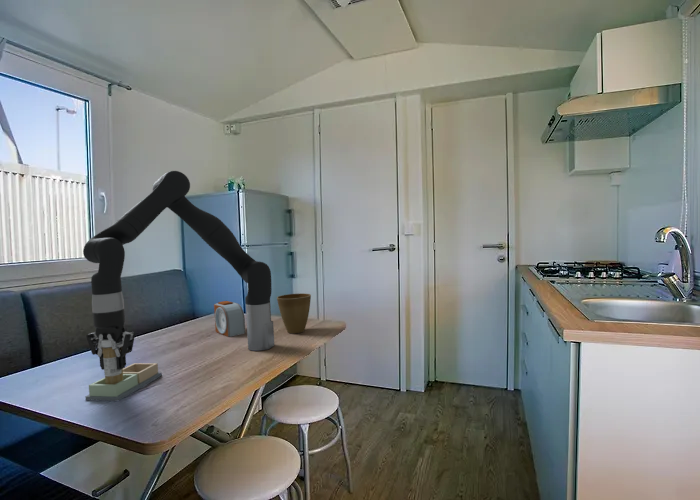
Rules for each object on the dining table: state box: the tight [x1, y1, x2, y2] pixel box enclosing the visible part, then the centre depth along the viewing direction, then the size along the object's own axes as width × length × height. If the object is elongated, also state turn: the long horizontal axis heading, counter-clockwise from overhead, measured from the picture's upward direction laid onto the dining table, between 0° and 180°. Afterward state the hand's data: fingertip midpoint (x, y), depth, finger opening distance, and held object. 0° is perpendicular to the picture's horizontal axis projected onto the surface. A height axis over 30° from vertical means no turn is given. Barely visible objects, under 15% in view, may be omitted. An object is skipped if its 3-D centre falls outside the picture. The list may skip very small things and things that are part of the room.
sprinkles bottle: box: [102, 340, 123, 384], centre depth 105 cm, size 5×5×13 cm
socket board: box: [84, 362, 163, 402], centre depth 110 cm, size 10×18×4 cm, turn 171°
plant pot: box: [276, 292, 312, 335], centre depth 164 cm, size 15×15×16 cm
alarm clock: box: [213, 300, 247, 338], centre depth 168 cm, size 15×8×14 cm, turn 43°
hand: (113, 368), depth 105 cm, fingers closed on sprinkles bottle, 4 cm apart
